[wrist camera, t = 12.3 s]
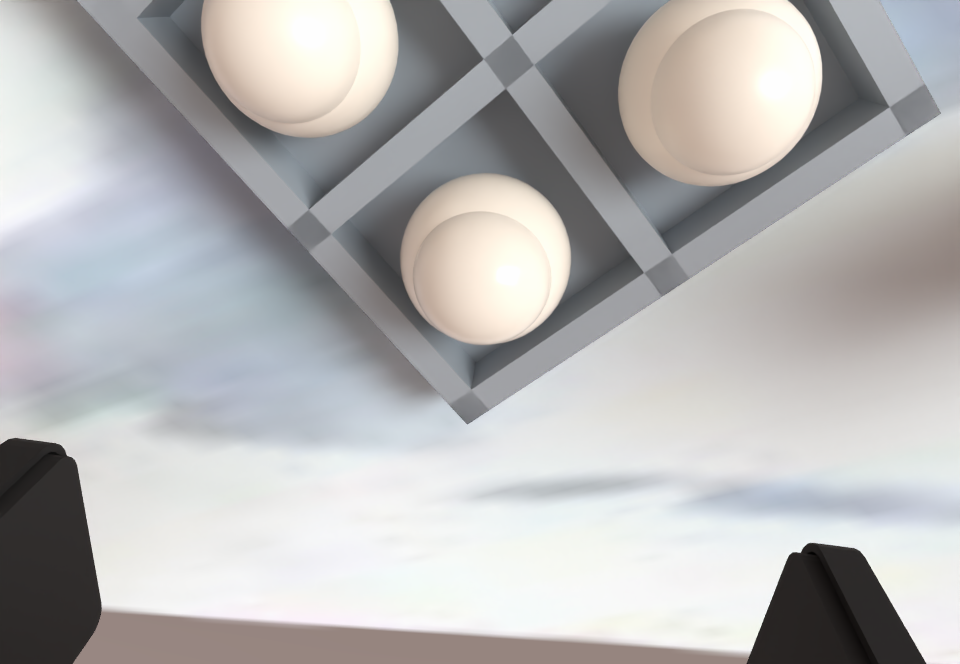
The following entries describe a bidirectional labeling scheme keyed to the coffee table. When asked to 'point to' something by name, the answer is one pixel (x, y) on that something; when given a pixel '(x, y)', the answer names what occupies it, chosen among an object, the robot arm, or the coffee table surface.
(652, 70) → the carton
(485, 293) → the egg
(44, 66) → the coffee table surface
